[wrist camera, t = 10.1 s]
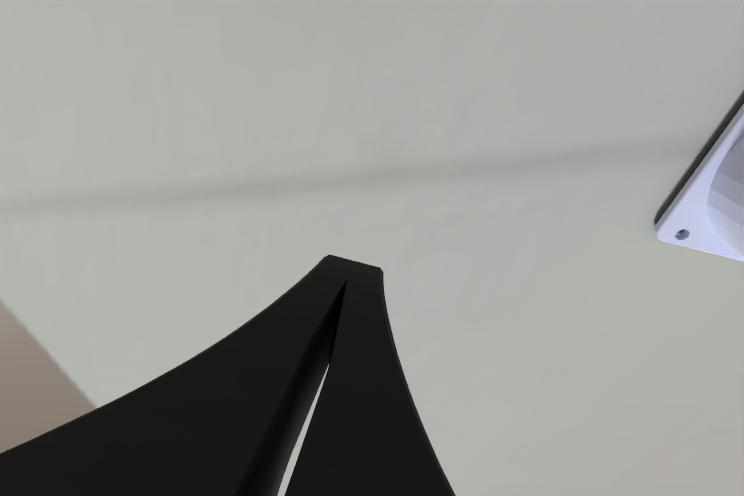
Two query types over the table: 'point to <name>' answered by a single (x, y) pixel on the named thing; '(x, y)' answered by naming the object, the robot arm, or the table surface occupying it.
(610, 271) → the table surface
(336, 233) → the table surface
